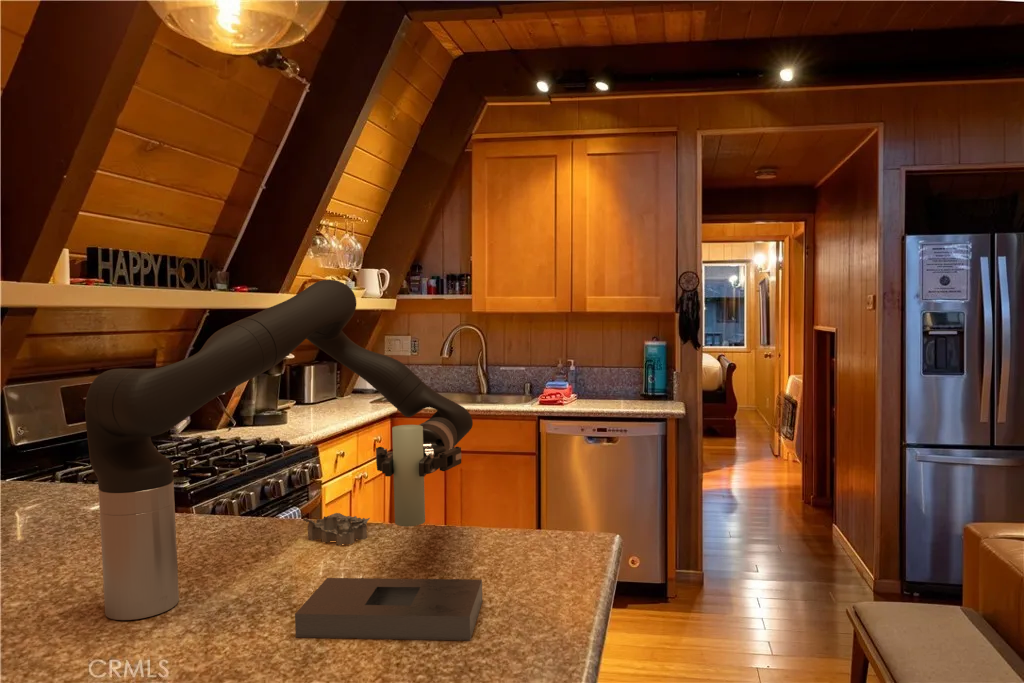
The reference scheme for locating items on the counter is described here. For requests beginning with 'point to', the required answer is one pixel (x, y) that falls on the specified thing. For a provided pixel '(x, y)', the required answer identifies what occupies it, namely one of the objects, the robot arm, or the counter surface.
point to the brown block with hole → (391, 609)
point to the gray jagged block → (337, 529)
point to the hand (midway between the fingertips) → (404, 469)
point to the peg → (408, 475)
